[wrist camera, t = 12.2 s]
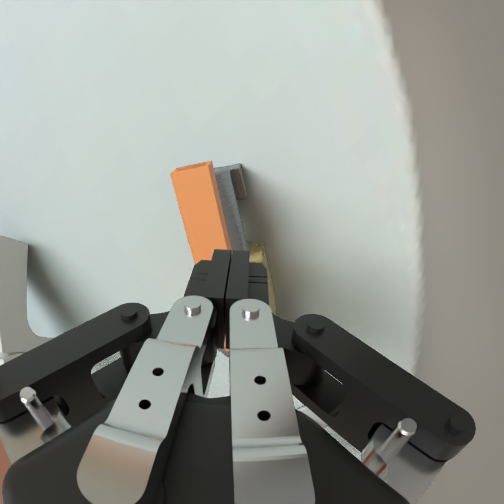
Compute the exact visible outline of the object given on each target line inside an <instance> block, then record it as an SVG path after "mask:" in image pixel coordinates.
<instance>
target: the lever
mask: <svg viewBox="0 0 504 504" xmlns="http://www.w3.org/2000/svg"><path fill="white" fill-rule="evenodd" d="M171 178H172V182H173V186H174V190H175V194H176V197H177V201H178V205H179V209H180V212H181V216H182V220H183V223H184V227H185V231H186V234H187V238H188V241H189V245H190V248H191V252H192V255H193V258H194V262H195V265H196V264H197V263H198V262H199V261H200V260H211V259H212V256H213V252H214V249H224V250H232V249H231V245H230V240H229V236H228V232H227V227H226V223H225V218H224V214H223V209H222V205H221V200H220V196H219V191H218V187H217V182H216V178H215V173H214V169H213V164H212V161H208V162H203V163H198V164H193V165H188V166H184V167H179V168H176V169H175V170H174V171H173V172H172V173H171ZM220 350H221V352H222V353H223V354H224V355H226V356H227V357H229V349H226V335H225V343H224V349H220Z"/></svg>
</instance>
